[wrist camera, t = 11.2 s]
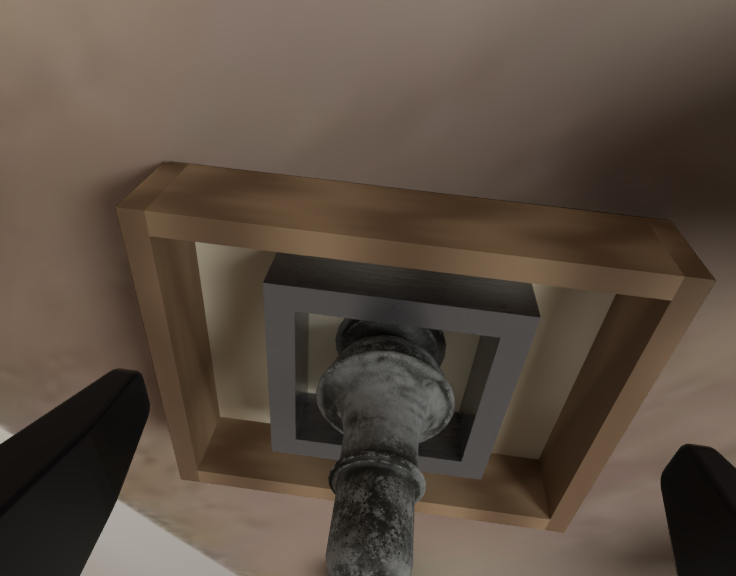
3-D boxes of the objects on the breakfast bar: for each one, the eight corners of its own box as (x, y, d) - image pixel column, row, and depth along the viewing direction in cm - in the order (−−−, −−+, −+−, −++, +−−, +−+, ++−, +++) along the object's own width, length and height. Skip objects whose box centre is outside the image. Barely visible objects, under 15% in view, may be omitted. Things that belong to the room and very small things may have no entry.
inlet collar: (528, 271, 21) (540, 317, 19) (476, 429, 28) (481, 479, 25) (281, 241, 22) (262, 282, 19) (285, 404, 28) (271, 451, 25)
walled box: (670, 220, 20) (716, 280, 17) (549, 464, 29) (564, 532, 26) (165, 160, 21) (115, 207, 17) (207, 418, 30) (181, 479, 27)
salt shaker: (475, 325, 23) (504, 618, 14) (419, 402, 27) (411, 680, 17) (355, 278, 22) (296, 555, 13) (313, 364, 26) (242, 633, 16)
